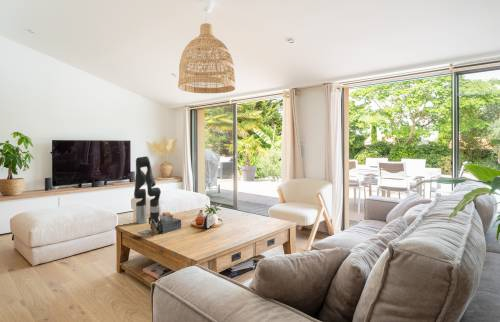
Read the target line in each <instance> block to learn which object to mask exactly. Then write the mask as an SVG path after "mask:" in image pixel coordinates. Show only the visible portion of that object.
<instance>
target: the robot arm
mask: <svg viewBox="0 0 500 322" xmlns="http://www.w3.org/2000/svg"><path fill="white" fill-rule="evenodd" d="M142 168H146V173H145V172H144V171H143V170H142ZM134 177H135V182H134V193H133V197H134V199H136V200H137V199H141V200H139V201H137V202H135V223H136V224H139V225H141V224H146V223H147V195H148V197H150V198H151V197H152V198H151V199H150V200H149V217H148V225H149V226H150V230H152V226H151V223H155V225H156V226H157V231H159V226H161V219H160V206H159V204H160V203H159V202H160V196H161V194H162V191H161V189H160V188H159V187H155V186H156V181H155V178H154V175H153V171H152V165H151V161H150V158H149V157H148V156H146V155H145V156H140V157H139V156H138V157H137V158H136V159H135V176H134ZM145 183H146V186H147V189H146V188H142V187H143V186H144V185H145ZM157 222H158V223H157ZM159 223H160V225H159ZM157 224H158V225H157Z"/></svg>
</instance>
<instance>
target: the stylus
mask: <svg viewBox="0 0 500 322" xmlns="http://www.w3.org/2000/svg"><path fill="white" fill-rule="evenodd" d="M157 223H158V222H157ZM157 225H158V224H157ZM151 226H152V229H151V231H152V232H151V235H152V236H157V235H159V232H158V231H157V226H156V225H155V223H151V225H150V227H151Z"/></svg>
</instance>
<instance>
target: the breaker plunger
mask: <svg viewBox="0 0 500 322" xmlns="http://www.w3.org/2000/svg"><path fill="white" fill-rule="evenodd" d="M170 214H171V212H169V211H164V212H162V213H161V215H162V216H169V215H170Z"/></svg>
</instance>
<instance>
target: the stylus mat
mask: <svg viewBox="0 0 500 322" xmlns="http://www.w3.org/2000/svg"><path fill="white" fill-rule="evenodd" d="M137 233H139V234H142V235H147V234H150V233H151V234H152V229H143V230H140V231H138V232H137Z"/></svg>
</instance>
